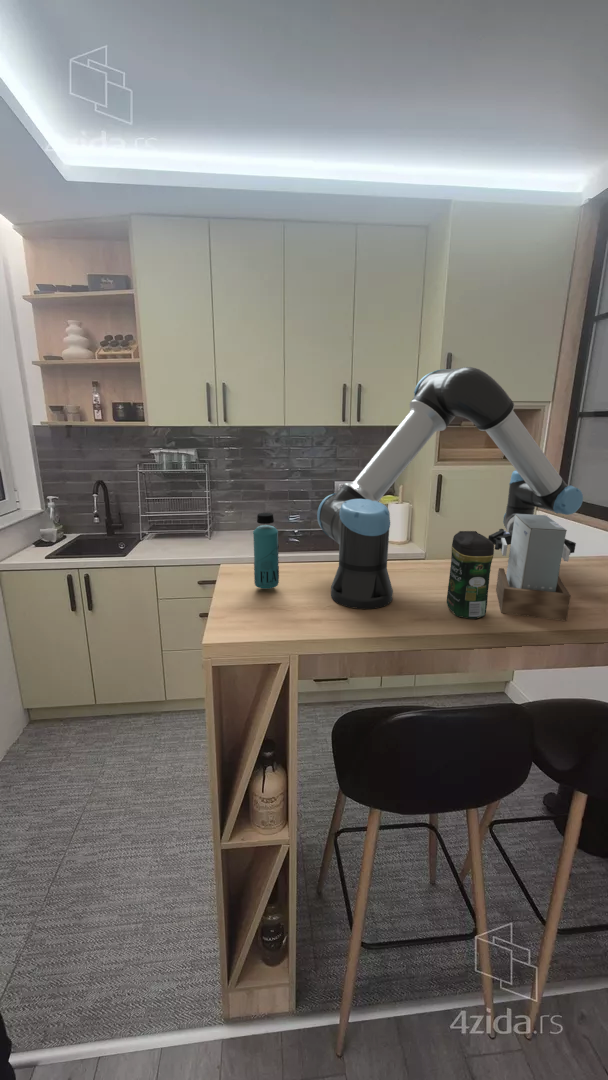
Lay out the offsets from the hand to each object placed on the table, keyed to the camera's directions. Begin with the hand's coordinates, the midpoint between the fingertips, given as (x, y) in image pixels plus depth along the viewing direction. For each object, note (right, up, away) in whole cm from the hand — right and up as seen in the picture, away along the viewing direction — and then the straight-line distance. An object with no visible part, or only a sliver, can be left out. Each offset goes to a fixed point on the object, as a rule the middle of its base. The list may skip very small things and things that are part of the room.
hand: (535, 553), depth 110 cm
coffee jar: (-18, -14, -3) cm, 23 cm away
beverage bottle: (-65, -10, +8) cm, 66 cm away
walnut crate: (-2, -12, 0) cm, 12 cm away
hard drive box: (-1, -12, +3) cm, 12 cm away
